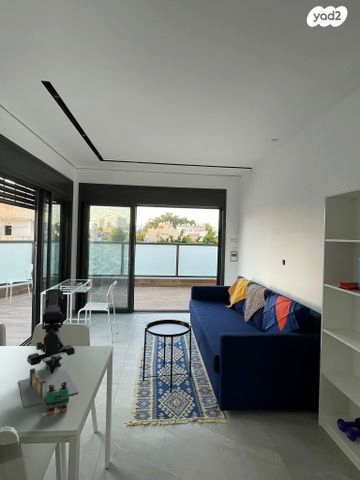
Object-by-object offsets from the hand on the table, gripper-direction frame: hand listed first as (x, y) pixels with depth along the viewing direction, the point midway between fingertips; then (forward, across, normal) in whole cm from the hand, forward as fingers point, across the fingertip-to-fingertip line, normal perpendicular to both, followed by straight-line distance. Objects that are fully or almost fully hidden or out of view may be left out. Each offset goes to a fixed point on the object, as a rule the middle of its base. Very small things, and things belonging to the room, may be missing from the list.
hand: (51, 373), depth 129 cm
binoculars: (+8, +3, +14) cm, 17 cm away
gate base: (+7, 0, -3) cm, 8 cm away
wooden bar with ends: (+6, +5, -2) cm, 8 cm away
